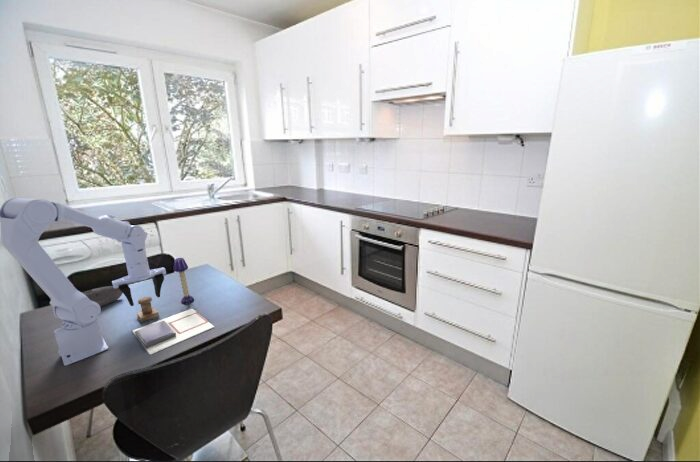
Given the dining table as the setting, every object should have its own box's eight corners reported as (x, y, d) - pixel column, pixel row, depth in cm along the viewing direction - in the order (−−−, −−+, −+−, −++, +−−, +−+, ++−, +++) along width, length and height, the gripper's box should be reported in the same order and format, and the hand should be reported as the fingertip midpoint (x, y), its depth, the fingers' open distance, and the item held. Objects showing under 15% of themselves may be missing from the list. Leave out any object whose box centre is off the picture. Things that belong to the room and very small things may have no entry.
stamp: (142, 323, 102) (138, 304, 100) (137, 318, 105) (133, 299, 104) (159, 317, 106) (155, 298, 104) (154, 312, 109) (150, 294, 107)
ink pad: (145, 348, 89) (144, 344, 88) (135, 335, 95) (134, 330, 95) (176, 336, 94) (175, 332, 94) (164, 324, 101) (163, 320, 101)
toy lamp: (187, 305, 113) (180, 261, 109) (176, 303, 114) (168, 260, 110) (196, 298, 118) (189, 256, 113) (185, 297, 119) (178, 256, 114)
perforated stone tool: (121, 295, 121) (117, 279, 119) (127, 299, 118) (123, 282, 116) (72, 313, 109) (66, 294, 107) (77, 317, 106) (72, 298, 104)
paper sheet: (150, 355, 87) (149, 353, 86) (132, 331, 98) (132, 330, 98) (214, 327, 99) (214, 326, 99) (192, 309, 110) (192, 308, 110)
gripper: (112, 272, 92) (122, 313, 96) (166, 258, 103) (173, 296, 106) (106, 266, 97) (116, 305, 101) (158, 253, 107) (165, 290, 111)
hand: (145, 300), depth 104 cm, fingers open, 7 cm apart
